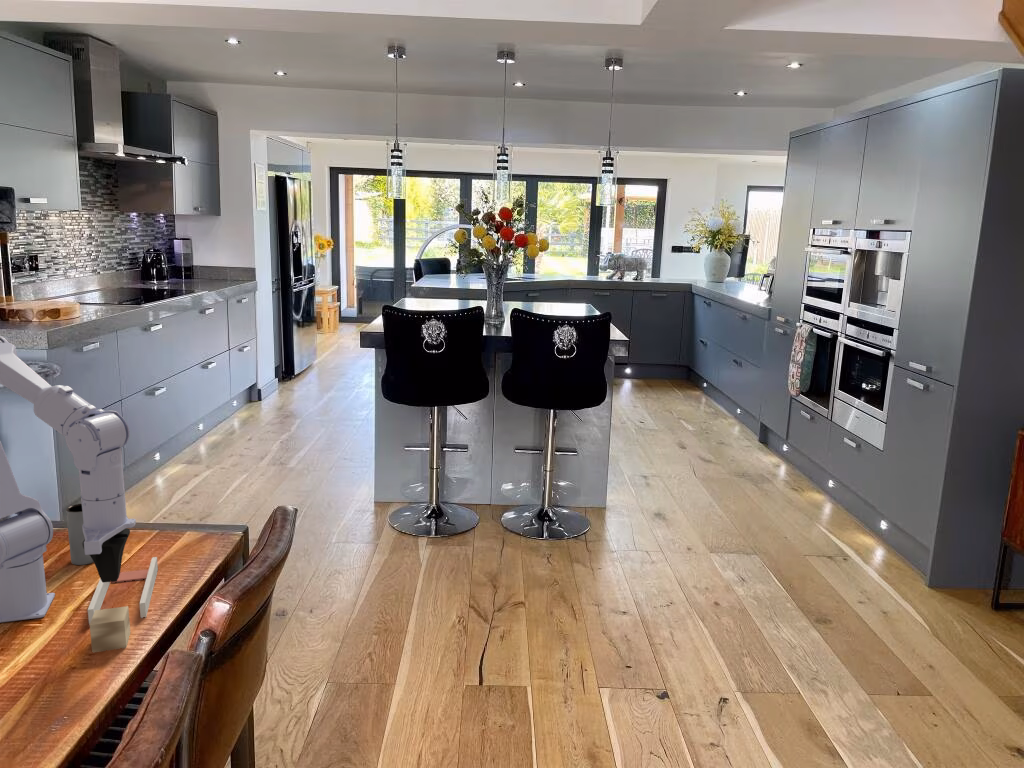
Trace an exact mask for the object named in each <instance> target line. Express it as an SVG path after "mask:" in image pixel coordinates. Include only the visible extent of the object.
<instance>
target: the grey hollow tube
mask: <svg viewBox="0 0 1024 768" xmlns="http://www.w3.org/2000/svg"><path fill="white" fill-rule="evenodd" d="M65 510H66V511H65V513H66V523H67V532H68V543H69V553H70V562H71V564H73V565H77V566H83V565H84V566H85V565H90V564H92V563H93V564H94V561H93V560H92V558H91V556H90V555H85V550H84V548H83V541H84V540H85V537H84V534H83V529H82V525H83V524H84V522H83V511H82V503H76V504H72V505H70V506H68V507H67V508H66V509H65Z"/></svg>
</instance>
